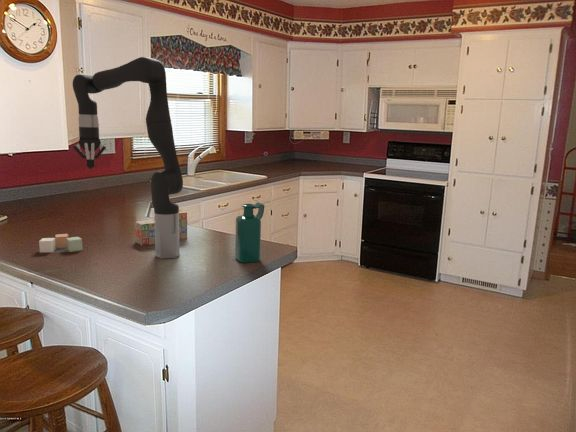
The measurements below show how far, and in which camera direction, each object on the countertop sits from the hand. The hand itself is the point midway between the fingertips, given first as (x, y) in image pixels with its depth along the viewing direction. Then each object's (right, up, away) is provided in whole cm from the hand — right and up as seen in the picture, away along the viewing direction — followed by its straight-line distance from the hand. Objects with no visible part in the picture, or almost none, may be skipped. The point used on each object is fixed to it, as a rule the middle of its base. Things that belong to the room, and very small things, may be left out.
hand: (91, 168), depth 196 cm
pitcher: (+67, -37, -12) cm, 77 cm away
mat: (-8, -33, -9) cm, 35 cm away
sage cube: (-2, -33, -10) cm, 35 cm away
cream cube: (-11, -33, -13) cm, 37 cm away
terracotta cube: (-9, -32, -6) cm, 34 cm away
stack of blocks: (+27, -31, +11) cm, 42 cm away
